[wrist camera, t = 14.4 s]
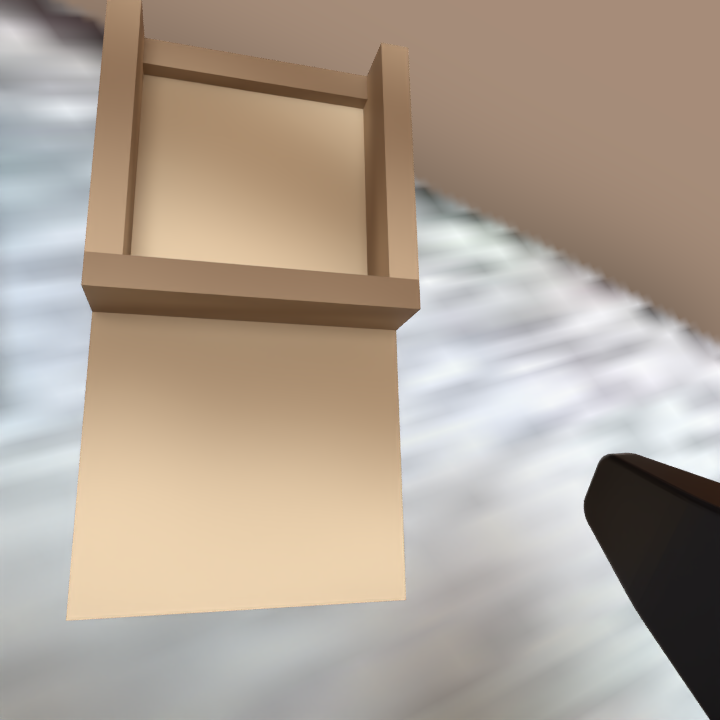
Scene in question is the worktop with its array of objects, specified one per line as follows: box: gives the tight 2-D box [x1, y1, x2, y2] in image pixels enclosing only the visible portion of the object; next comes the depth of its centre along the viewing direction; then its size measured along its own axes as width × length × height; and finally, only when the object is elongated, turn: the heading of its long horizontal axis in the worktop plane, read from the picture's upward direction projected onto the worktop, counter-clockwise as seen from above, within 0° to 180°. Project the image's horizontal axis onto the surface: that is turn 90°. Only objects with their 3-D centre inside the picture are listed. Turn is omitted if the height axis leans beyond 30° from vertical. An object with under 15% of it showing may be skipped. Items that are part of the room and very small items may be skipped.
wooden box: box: [66, 0, 420, 621], centre depth 14 cm, size 9×5×11 cm, turn 1°
